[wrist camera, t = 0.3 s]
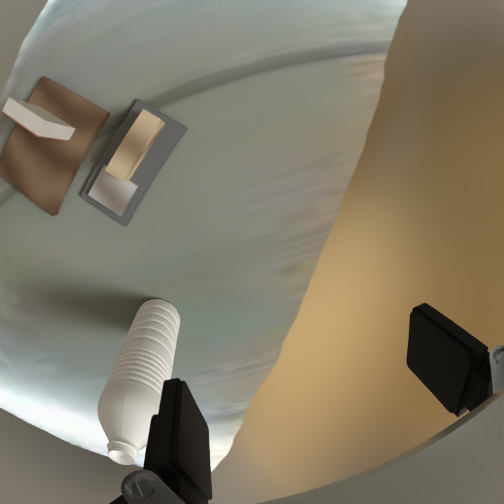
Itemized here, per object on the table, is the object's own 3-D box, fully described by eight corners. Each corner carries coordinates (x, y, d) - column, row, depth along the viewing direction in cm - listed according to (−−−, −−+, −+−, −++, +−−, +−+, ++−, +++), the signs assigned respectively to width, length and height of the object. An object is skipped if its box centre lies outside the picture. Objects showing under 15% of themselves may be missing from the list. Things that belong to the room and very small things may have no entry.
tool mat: (139, 99, 32) (138, 98, 31) (187, 128, 34) (187, 128, 33) (82, 195, 34) (80, 196, 34) (127, 225, 36) (125, 226, 36)
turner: (141, 109, 32) (134, 103, 28) (174, 129, 33) (170, 125, 30) (90, 194, 34) (79, 197, 30) (121, 215, 35) (113, 219, 32)
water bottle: (131, 324, 40) (78, 457, 16) (147, 290, 39) (90, 424, 15) (182, 349, 42) (170, 491, 18) (201, 317, 41) (199, 464, 17)
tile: (40, 106, 28) (9, 97, 21) (75, 128, 30) (45, 121, 23) (33, 119, 28) (1, 112, 21) (68, 141, 31) (37, 137, 23)
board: (47, 78, 28) (42, 75, 27) (110, 113, 32) (107, 111, 30) (1, 171, 31) (-4, 171, 29) (57, 214, 34) (52, 216, 33)
